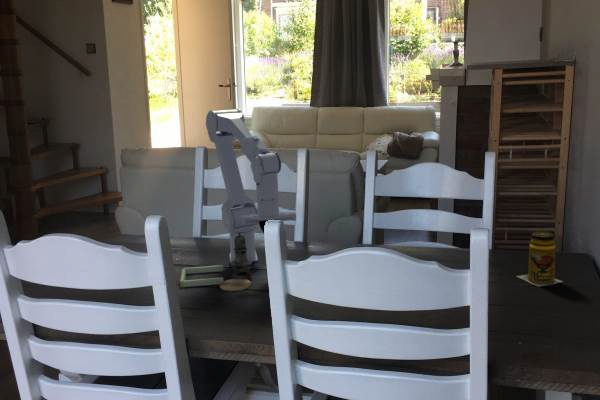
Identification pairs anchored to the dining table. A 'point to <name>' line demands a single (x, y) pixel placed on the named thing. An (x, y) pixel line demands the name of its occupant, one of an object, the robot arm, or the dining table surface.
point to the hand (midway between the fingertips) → (270, 248)
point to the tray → (200, 281)
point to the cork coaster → (235, 284)
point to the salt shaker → (241, 259)
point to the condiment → (541, 260)
